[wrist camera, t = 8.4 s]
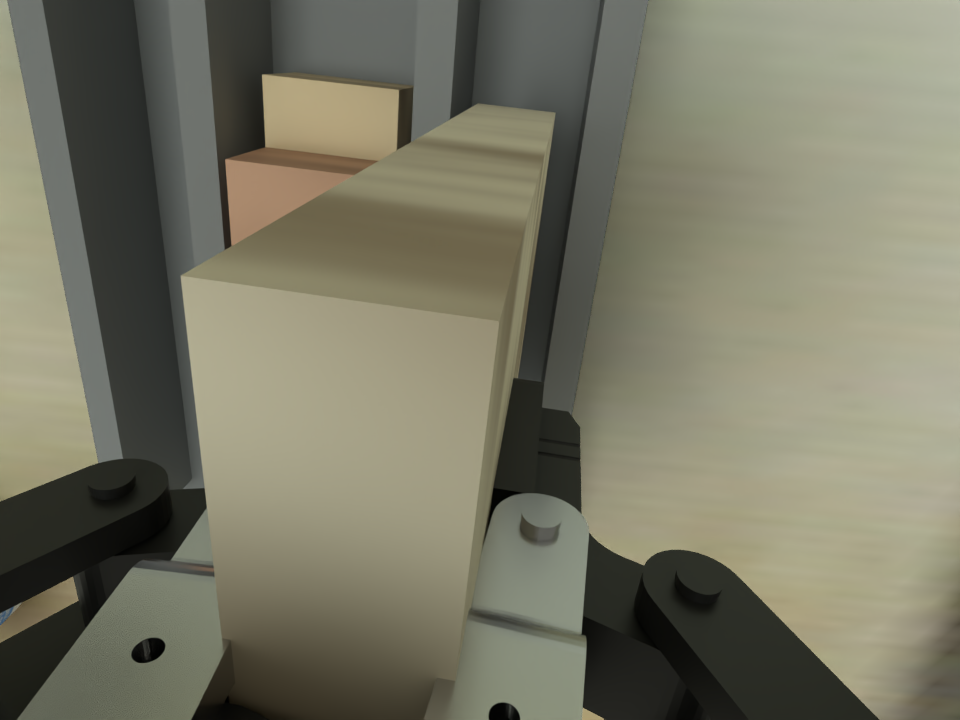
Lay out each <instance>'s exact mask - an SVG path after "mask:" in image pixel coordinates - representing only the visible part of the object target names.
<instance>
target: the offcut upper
mask: <svg viewBox="0 0 960 720" xmlns="http://www.w3.org/2000/svg"><path fill="white" fill-rule="evenodd" d="M376 162H378V161H375V160H366V159H358V158H350V157H342V156H334V155H326V154H317V153H309V152H301V151H293V150H285V149H277V148H268V147H264V148H261V149H258V150H254V151H251V152H248V153H244V154H241V155H238V156H234V157H231V158H228V159H225V164H226V177H227V191H228V204H229V218H230V231H231V245H232V246H233V245H234V244H236V243H238V242H240V241H241V240H243V239H245V238H247V237H248V236H250V235H252V234H253V233H255V232H257V231H259V230H260V229H262V228H264V227H266V226H267V225H269V224H271V223H272V222H274V221H276V220H278V219H279V218H281V217H283V216H285V215H286V214H288V213H290V212H291V211H293V210H295V209H297V208H298V207H300V206H302V205H304V204H305V203H307V202H309V201H310V200H312V199H314V198H316V197H317V196H319V195H321V194H322V193H324V192H326V191H328V190H329V189H331V188H333V187H335V186H336V185H338V184H340V183H341V182H343V181H345V180H347V179H348V178H350V177H352V176H354V175H355V174H357V173H359V172H360V171H362V170H364V169H366V168H367V167H369V166H371V165H373V164H374V163H376Z"/></svg>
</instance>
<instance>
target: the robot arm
mask: <svg viewBox="0 0 960 720" xmlns="http://www.w3.org/2000/svg"><path fill="white" fill-rule="evenodd" d="M543 391H544V382H539V381H533V380H526V379H519V378H513V383H512V388H511V394H510V399H509V405H508V410H507V416H506V421H505V427H504V432H503V438H502V443H501V449H500V454H499V459H498V465H497V470H496V476H495V481H494V487H493V494H492V501H491V509H490V516H489V524H488V531H487V535H486V538H485V541H484V545H483V548H482V552H481V556H480V562H479V567H478V573H477V578H476V584H475V589H474V595H473V600H472V605H471V608H469V612H468V616H467V621H466V626H465V632H464V637H463V643H462V648H461V653H460V659H459V664H458V669H457V675H456V680H455V681H453V680H447V679H442V678H436V681H435V685H434V688H433V691H432V694H431V698H430V701H429V704H428V707H427V711H426V714H425V717H424V720H582V710H583V708H585V709H587V710H589V711H591V712H593V713H595V714H597V715H598V716H600V717H602V718H604V720H879V719H878V718H877V717H876V716H875V715H874V714H873V713H872V712H871V711H870V710H869V709H868V708H867V707H866V706H865V705H864V704H863V703H862V702H861V701H860V700H859V699H858V698H857V697H856V696H855V695H854V694H853V693H852V692H851V691H850V690H849V689H848V688H847V687H846V686H845V685H844V684H843V683H842V681H841V680H840V679H839V678H838V677H837V676H836V675H835V674H834V673H833V672H832V671H831V670H830V669H829V668H828V667H827V666H826V665H825V664H824V663H823V662H822V661H821V660H820V659H819V658H818V657H817V656H816V655H815V654H814V653H813V652H812V651H811V650H810V649H809V648H808V647H807V646H806V645H805V644H804V643H803V642H802V641H801V640H800V639H799V638H798V637H797V636H796V635H795V634H794V633H793V632H792V631H791V630H790V629H789V628H788V627H787V626H786V625H785V624H784V623H783V622H782V621H781V620H780V619H779V618H778V617H777V616H776V615H775V614H774V613H773V612H772V611H771V610H770V609H769V607H768V606H767V605H766V604H765V603H764V602H763V601H762V600H761V599H760V598H759V597H758V596H757V595H756V594H755V593H754V592H753V591H752V590H751V589H750V588H749V587H748V586H747V585H746V584H745V583H744V582H743V581H742V580H741V579H740V578H739V577H738V576H737V575H736V574H735V573H734V572H732V571H731V570H730V569H729V568H727V567H726V566H724V565H723V564H721V563H720V562H718V561H716V560H714V559H712V558H710V557H708V556H705V555H702V554H699V553H696V552H691V551H685V550H668V551H663V552H660V553H657V554H655V555H653V556H652V557H651V558H650V559H649V560H647V562H646V564H645V565H644V566H643V565H641V564H639V563H636V562H634V561H631V560H629V559H626V558H624V557H622V556H620V555H617V554H615V553H613V552H612V551H610V550H608V549H607V548H605V547H604V546H602V545H601V544H600V543H598V542H597V541H596V540H595V539H594V538H593V537H592V536H591V534H590V533H589V528H588V524H587V522H586V520H585V518H584V517H583V516H582V514H581V466H580V427H579V426H578V424H577V423H576V422H575V420H574V419H573V417H572V416H571V415H570V413H569V412H568V411H562V410H555V409H548V408H542V402H543ZM71 577H73V578H74V582H75V586H76V591H77V595H78V599H79V601H77V602H76V603H74V604H72V605H70V606H68V607H66V608H64V609H63V610H61V611H59V612H57V613H55V614H53V615H51V616H50V617H48V618H46V619H44V620H42V621H40V622H38V623H37V624H35V625H33V626H31V627H29V628H27V629H25V630H24V631H22V632H20V633H18V634H16V635H14V636H12V637H11V638H9V639H7V640H5V641H3V642H1V643H0V720H269V719H267V718H265V717H263V716H261V715H259V714H257V713H255V712H253V711H251V710H249V709H248V708H246V707H244V706H241V705H236V704H231V703H229V697H228V694H229V692H230V691H231V689H232V687H233V686H234V684H235V676H234V666H233V657H232V648H231V640H229V639H224V638H222V636H221V627H220V618H219V609H218V601H217V592H216V583H215V574H214V565H213V557H212V548H211V539H210V530H209V521H208V513H207V504H206V495H205V488H195V489H175V490H170V488H169V480H168V474H167V473H166V471H165V469H164V468H163V467H161V466H160V465H158V464H157V463H154V462H151V461H148V460H143V459H116V460H110V461H105V462H101V463H98V464H95V465H92V466H89V467H86V468H84V469H81V470H79V471H76V472H74V473H71V474H69V475H66V476H64V477H61V478H59V479H56V480H54V481H51V482H49V483H46V484H44V485H41V486H39V487H36V488H34V489H31V490H29V491H26V492H24V493H21V494H18V495H16V496H13V497H11V498H8V499H6V500H3V501H1V502H0V613H2V612H4V611H6V610H8V609H10V608H12V607H14V606H16V605H18V604H20V603H22V602H23V601H25V600H27V599H29V598H31V597H33V596H35V595H37V594H39V593H41V592H43V591H45V590H47V589H49V588H51V587H53V586H55V585H57V584H59V583H61V582H63V581H65V580H67V579H69V578H71Z"/></svg>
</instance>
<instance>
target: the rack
mask: <svg viewBox="0 0 960 720" xmlns="http://www.w3.org/2000/svg"><path fill="white" fill-rule="evenodd" d="M7 1H8V6H9V11H10V16H11V22H12V27H13V32H14V37H15V42H16V47H17V52H18V57H19V62H20V67H21V72H22V77H23V82H24V88H25V93H26V98H27V103H28V108H29V113H30V118H31V123H32V128H33V133H34V138H35V143H36V148H37V153H38V159H39V164H40V169H41V174H42V179H43V184H44V189H45V194H46V199H47V204H48V209H49V214H50V219H51V224H52V230H53V235H54V240H55V245H56V250H57V255H58V260H59V265H60V270H61V275H62V280H63V285H64V290H65V296H66V301H67V306H68V311H69V316H70V321H71V326H72V331H73V336H74V341H75V346H76V351H77V356H78V361H79V367H80V372H81V377H82V382H83V387H84V392H85V397H86V402H87V407H88V412H89V417H90V422H91V427H92V432H93V438H94V443H95V448H96V453H97V458H98V463H101V462H105V461H110V460H116V459H143V460H148V461H151V462H154V463H157V464H158V465H160V466H161V467H163V468H164V469H165V471H166V473H167V474H168V480H169V488H170V490H175V489H195V488H205V486H204V478H203V469H202V460H201V451H200V442H199V434H198V425H197V416H196V407H195V398H194V390H193V381H192V372H191V363H190V355H189V346H188V337H187V328H186V319H185V311H184V302H183V293H182V284H181V275H183V274H184V273H186V272H188V271H190V270H191V269H193V268H195V267H197V266H198V265H200V264H202V263H203V262H205V261H207V260H209V259H210V258H212V257H214V256H215V255H217V254H219V253H221V252H222V251H224V250H226V249H228V248H229V247H231V246H232V245H231V231H230V218H229V204H228V191H227V177H226V164H225V159H228V158H231V157H234V156H238V155H241V154H244V153H248V152H251V151H254V150H258V149H261V148H264V147H265V126H264V105H263V84H262V74H277V73H293V72H297V73H306V74H315V75H324V76H332V77H341V78H350V79H359V80H368V81H377V82H386V83H394V84H403V85H412V86H414V91H413V112H412V133H411V142H412V141H414V140H416V139H417V138H419V137H421V136H423V135H424V134H426V133H428V132H429V131H431V130H433V129H435V128H436V127H438V126H440V125H442V124H443V123H445V122H447V121H448V120H450V119H452V118H454V117H455V116H457V115H459V114H461V113H462V112H464V111H466V110H467V109H469V108H471V107H473V106H474V105H476V104H478V103H479V104H487V105H496V106H504V107H513V108H521V109H529V110H538V111H546V112H555V113H556V114H555V121H554V128H553V135H552V142H551V149H550V156H549V163H548V170H547V177H546V184H545V192H544V199H543V206H542V213H541V220H540V227H539V234H538V241H537V248H536V255H535V262H534V269H533V276H532V283H531V290H530V297H529V304H528V311H527V318H526V325H525V332H524V339H523V346H522V353H521V360H520V367H519V374H518V378H519V379H526V380H533V381H539V382H544V391H543V402H542V408H548V409H555V410H562V411H568V412H569V413H570V415H571V416H572V411H573V406H574V400H575V395H576V390H577V384H578V379H579V373H580V368H581V362H582V357H583V352H584V346H585V341H586V335H587V330H588V324H589V319H590V314H591V308H592V303H593V297H594V292H595V287H596V281H597V276H598V270H599V265H600V259H601V254H602V249H603V243H604V238H605V232H606V227H607V222H608V216H609V211H610V205H611V200H612V194H613V189H614V184H615V178H616V173H617V167H618V162H619V157H620V151H621V146H622V140H623V135H624V129H625V124H626V119H627V113H628V108H629V102H630V97H631V92H632V86H633V81H634V75H635V70H636V64H637V59H638V54H639V48H640V43H641V37H642V32H643V26H644V21H645V16H646V10H647V5H648V0H7Z"/></svg>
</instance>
